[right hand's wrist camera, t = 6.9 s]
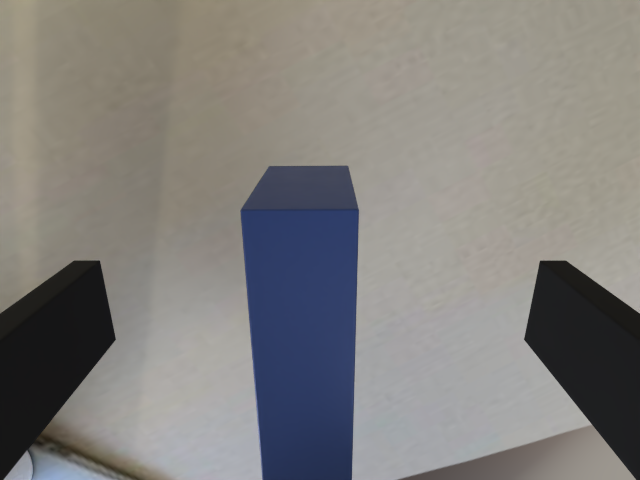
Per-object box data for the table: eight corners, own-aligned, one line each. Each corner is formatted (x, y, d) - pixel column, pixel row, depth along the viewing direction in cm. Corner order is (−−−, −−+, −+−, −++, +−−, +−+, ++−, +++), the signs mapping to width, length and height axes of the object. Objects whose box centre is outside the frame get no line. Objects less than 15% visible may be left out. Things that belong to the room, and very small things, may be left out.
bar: (268, 165, 23) (240, 209, 16) (348, 165, 23) (359, 209, 16) (286, 506, 33) (275, 636, 26) (342, 507, 33) (347, 637, 25)
